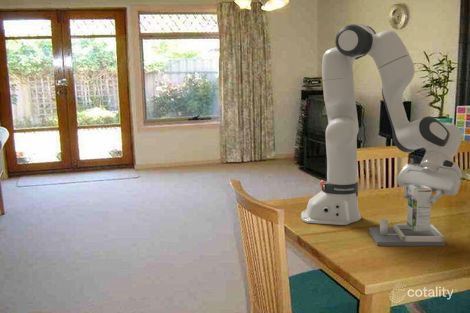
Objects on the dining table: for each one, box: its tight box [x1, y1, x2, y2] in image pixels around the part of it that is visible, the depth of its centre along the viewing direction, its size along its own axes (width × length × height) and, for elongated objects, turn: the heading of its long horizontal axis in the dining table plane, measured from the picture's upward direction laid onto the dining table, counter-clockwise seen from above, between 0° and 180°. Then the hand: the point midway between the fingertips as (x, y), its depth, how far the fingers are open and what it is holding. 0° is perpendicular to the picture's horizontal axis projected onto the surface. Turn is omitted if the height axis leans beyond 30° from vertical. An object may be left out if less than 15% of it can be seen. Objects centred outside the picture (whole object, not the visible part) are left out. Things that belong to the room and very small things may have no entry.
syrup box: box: [406, 184, 433, 231], centre depth 154 cm, size 6×6×14 cm
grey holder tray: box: [368, 218, 446, 247], centre depth 155 cm, size 21×14×6 cm, turn 85°
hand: (418, 200), depth 153 cm, fingers closed on syrup box, 8 cm apart
